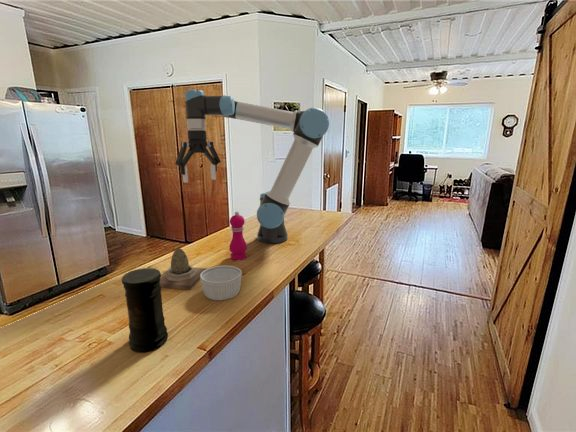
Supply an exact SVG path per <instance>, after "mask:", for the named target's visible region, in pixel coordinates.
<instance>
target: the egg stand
mask: <svg viewBox="0 0 576 432" xmlns="http://www.w3.org/2000/svg"><path fill="white" fill-rule="evenodd" d="M206 269H207V268H206V267H205V268H203V267H194V266H193V265H191V264H189V268H188V271H187V272H186V273H184V274H180V275H176V274H174V273H173V271H172V269H171V266H170V267H169V268H168V269H166V270H165V271H164V272H162V274H161V277H160V287H161V288H166V289H177V290H188V291H189V290H190V291H191V290H192V289H193V288H194V287H195V286H196V284H198V283H199V282H200V281H201V280H200V275H201V273H202V272H203V271H204V270H206Z"/></svg>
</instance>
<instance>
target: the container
mask: <svg viewBox="0 0 576 432" xmlns="http://www.w3.org/2000/svg"><path fill="white" fill-rule="evenodd" d="M161 275H162V274H161V272H160V270H159V269H157V268H153V267H151V268H150V267H149V268H148V267H146V268H145V267H144V268H139V269H138V268H137V269H134V270H131V271H128V272H126V273H125V274H124V275H123V276H122V278H121V284H122V285H123V289H124V290H125V292H124V297H125V299H126V300H125V301H126V307H127V316H128V329H129V335H128V339H129V340H128V346H129V347H130V349H131V350H132V351H134V352H136V353H148V352H152V351H153V352H154V351H155V350H158V349H160V348H161V347H163V345H165V344H166V343H167V341H168V338H169V333H168V327H167V326H166V325H165V320H166V319H165V316H164V309H163V308H164V307H163V298H162V287H160V277H161Z"/></svg>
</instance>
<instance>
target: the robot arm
mask: <svg viewBox="0 0 576 432" xmlns="http://www.w3.org/2000/svg"><path fill="white" fill-rule="evenodd" d="M184 94H185V95H184V98H185V99H184V100H185V101H184V104H185V112H186V124H187V125H186V127H187V129H188V131H187V139H188V142H186V141H182V142H181V143H180V150H179V152H178V155H177V158H176V160H175V162H174V164H175V166H178V167H179V168H180V175H182V181H183V182H182V183H187V184H188V183H189V177H188V166H186V165H187V164H188V162H189V161H190V159H191V157H192V156H193V155H194V154H199V153H201V154H203V155H204V156H205V157H206V158H207V159H208V160H209V162H210V163H211V164H210V177H211V179H210V180H214V181H215V180H217V173H216V172H218V165H219V164H220V163H221V159H220V157H219V155H218V153H217V151H216V148H215V147H214V145H215V144H214V142H213V141H208V142H207V137H208V136H207V131H206V130H207V125H206V124H207V121H206V116H221V117H222V118H226V119H227V118H229V119H235V120H240V121H245V122H251V123H256V124H262V125H267V126H270V127H271V126H272V127H277V128H281V129H287V130H290V131H291V132H292V133H293V134H292V136H293V138H294V139H293V142H292V144H291V147H290V149H289V150H288V153H287V155H286V157H285V159H284V161H283V163H282V166H281V167H280V170H279V172H278V174H277V176H276V179H275V180H274V182H273V185H272V187H271V189H270V190H269V191H266V192H264V193H260V195H259V202H260V203H259V206H258V208H257V210H256V219H257V222H258V223H259V228H258V231H257V234H256V235H257V236H256V237H257V241H259V242H261V243H263V244H264V243H265V244H280V243H283V242H287V240H288V237H289V235H288V232H287V228H286V225H285V215H286V213H287V210H288V209H289V207H290V204H291V202H290V200H289V199H290V197H291V194H292V193H293V191H294V188H295V187H296V185H297V182H298V180H299V178H300V176H301V174H302V172H303V170H304V168H305V166H306V164H307V161H308V159H309V157H310V155H311V154H312V151H313V150H314V149H316V148H318V147H319V145H320V143H321V141H322V139H323V137H324V136H325V135H326V133H327V132H328V129H329V126H330V120H329V116H328V114H327V113H326V112H325V111H324V110H323V109H321V108H318V107H310V108H307V109H306V110H297V109H296V110H293V111H289V110H284V109H279V108H274V107H269V106H268V107H267V106H264V105H263V106H262V105H258V104H251V103H248V102H243V101H242V102H241V101H237V100H234V97H233V96H231V95H205V92H204V91H203V90H201V89H187V90H186V91H185V93H184ZM207 147H208V148H207ZM187 148H189V149H188V150H187ZM208 149H209V150H208ZM186 151H187V153H186Z"/></svg>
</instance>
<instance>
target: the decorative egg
mask: <svg viewBox="0 0 576 432" xmlns="http://www.w3.org/2000/svg"><path fill="white" fill-rule="evenodd" d="M170 259H171V260H170V267H171V269H172V271H173V273H174V274H176V275H180V274H184V273H186V272H187V271H188V268H189V265H190V264H189V260H188V259H189V258H188V256H187V255H186V252H185V251H184V250H183V249H182V248H180V247H179V248H176V249H175V250H174V251H173V253H172V256H171V258H170Z"/></svg>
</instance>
